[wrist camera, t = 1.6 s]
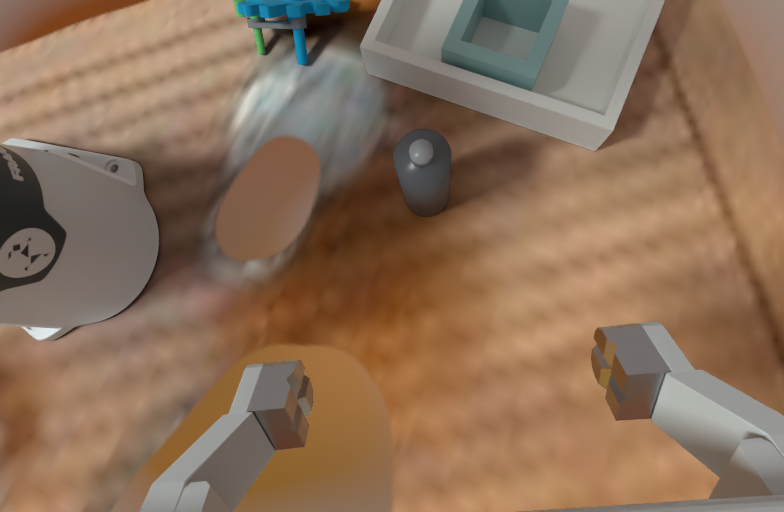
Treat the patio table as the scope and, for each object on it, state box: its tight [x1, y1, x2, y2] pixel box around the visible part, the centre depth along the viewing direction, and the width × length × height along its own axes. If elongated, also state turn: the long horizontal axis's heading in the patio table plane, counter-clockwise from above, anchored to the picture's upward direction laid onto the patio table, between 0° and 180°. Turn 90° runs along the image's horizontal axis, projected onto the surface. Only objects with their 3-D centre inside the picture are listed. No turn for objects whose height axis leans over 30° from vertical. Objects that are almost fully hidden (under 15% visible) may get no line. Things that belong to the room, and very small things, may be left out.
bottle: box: [393, 129, 451, 217], centre depth 33 cm, size 4×4×10 cm
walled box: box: [360, 0, 665, 151], centre depth 37 cm, size 22×16×5 cm
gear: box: [234, 0, 350, 65], centre depth 40 cm, size 11×6×10 cm
